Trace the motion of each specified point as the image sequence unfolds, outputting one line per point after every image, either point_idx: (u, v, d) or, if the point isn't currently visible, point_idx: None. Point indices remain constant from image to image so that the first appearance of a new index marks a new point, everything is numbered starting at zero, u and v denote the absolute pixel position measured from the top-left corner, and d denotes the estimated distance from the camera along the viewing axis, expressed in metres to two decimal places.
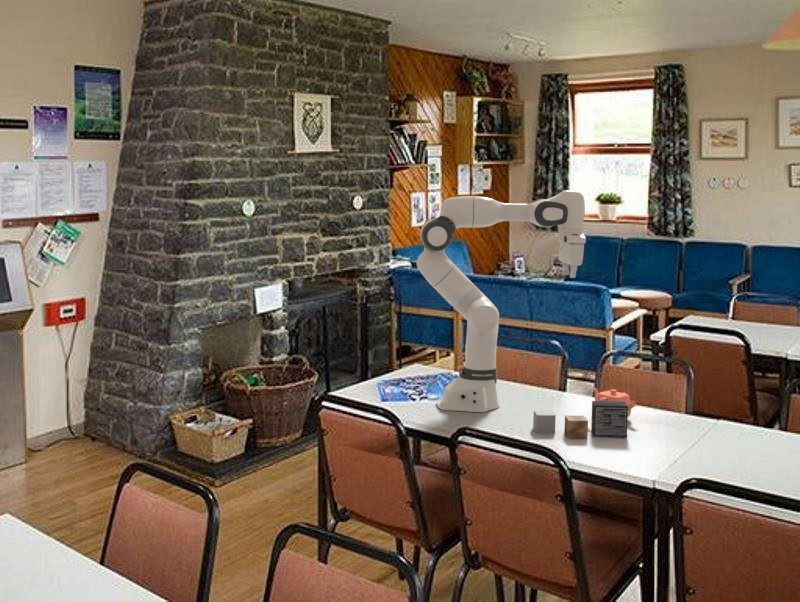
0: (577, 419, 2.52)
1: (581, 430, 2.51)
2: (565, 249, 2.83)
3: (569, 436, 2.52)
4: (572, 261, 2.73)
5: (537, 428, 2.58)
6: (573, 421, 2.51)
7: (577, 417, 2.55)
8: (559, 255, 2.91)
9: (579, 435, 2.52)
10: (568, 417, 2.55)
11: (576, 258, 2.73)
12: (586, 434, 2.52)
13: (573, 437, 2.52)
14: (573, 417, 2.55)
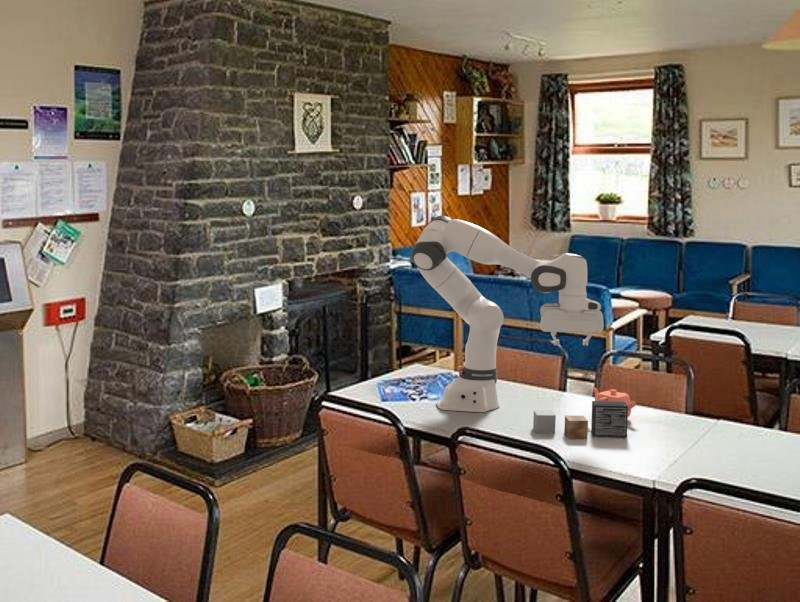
0: (577, 419, 2.52)
1: (581, 430, 2.51)
2: (570, 317, 2.60)
3: (569, 436, 2.52)
4: (603, 327, 2.61)
5: (537, 428, 2.58)
6: (573, 421, 2.51)
7: (577, 417, 2.55)
8: (546, 325, 2.60)
9: (579, 435, 2.52)
10: (568, 417, 2.55)
11: None
12: (586, 434, 2.52)
13: (573, 437, 2.52)
14: (573, 417, 2.55)
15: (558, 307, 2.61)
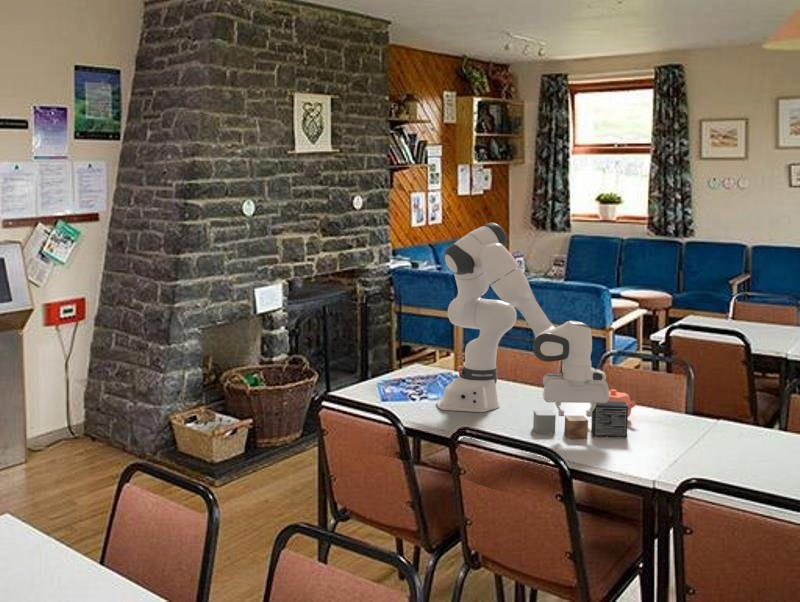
0: (577, 419, 2.52)
1: (581, 430, 2.51)
2: (573, 387, 2.50)
3: (569, 436, 2.52)
4: (608, 398, 2.50)
5: (537, 428, 2.58)
6: (573, 421, 2.51)
7: (577, 417, 2.55)
8: (549, 396, 2.51)
9: (579, 435, 2.52)
10: (568, 417, 2.55)
11: None
12: (586, 434, 2.52)
13: (573, 437, 2.52)
14: (573, 417, 2.55)
15: (561, 377, 2.51)
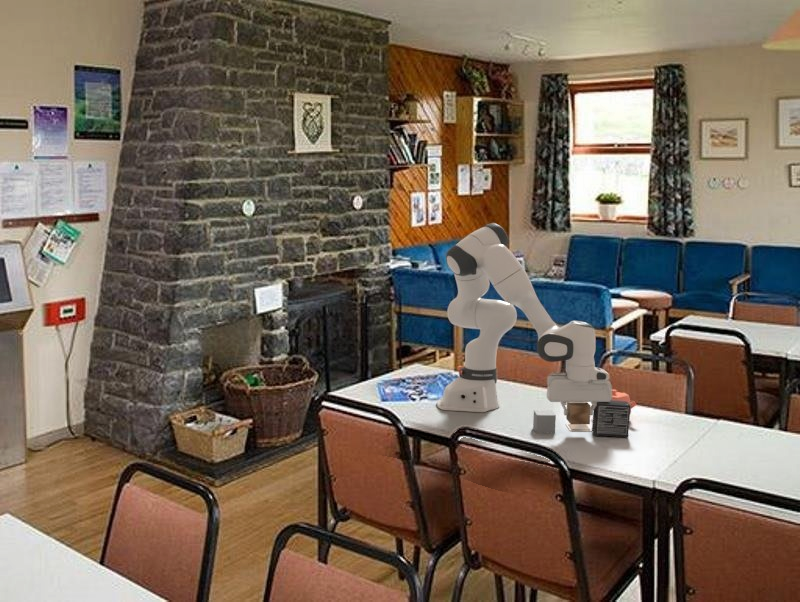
0: (580, 404, 2.53)
1: (583, 415, 2.52)
2: (577, 387, 2.52)
3: (572, 421, 2.52)
4: (611, 397, 2.53)
5: (537, 428, 2.58)
6: (576, 406, 2.51)
7: (579, 402, 2.55)
8: (553, 395, 2.52)
9: (582, 420, 2.52)
10: (570, 402, 2.55)
11: None
12: (588, 419, 2.52)
13: (576, 422, 2.52)
14: (575, 402, 2.55)
15: (565, 376, 2.52)
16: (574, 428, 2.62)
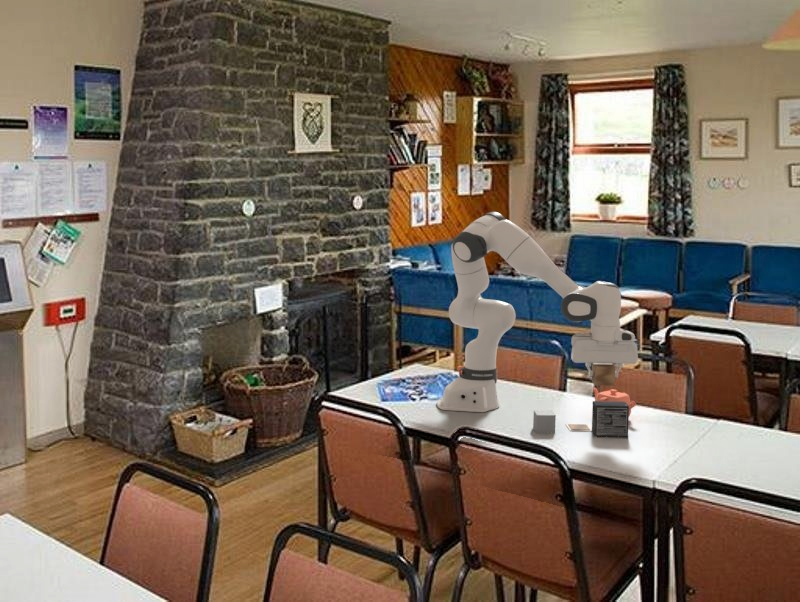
0: (605, 365, 2.50)
1: (608, 376, 2.49)
2: (602, 348, 2.50)
3: (596, 382, 2.50)
4: None
5: (537, 428, 2.58)
6: (600, 367, 2.49)
7: (604, 364, 2.53)
8: (577, 356, 2.50)
9: (606, 381, 2.50)
10: (595, 364, 2.53)
11: None
12: (613, 380, 2.50)
13: (600, 383, 2.50)
14: (600, 364, 2.53)
15: (590, 337, 2.51)
16: (574, 428, 2.62)
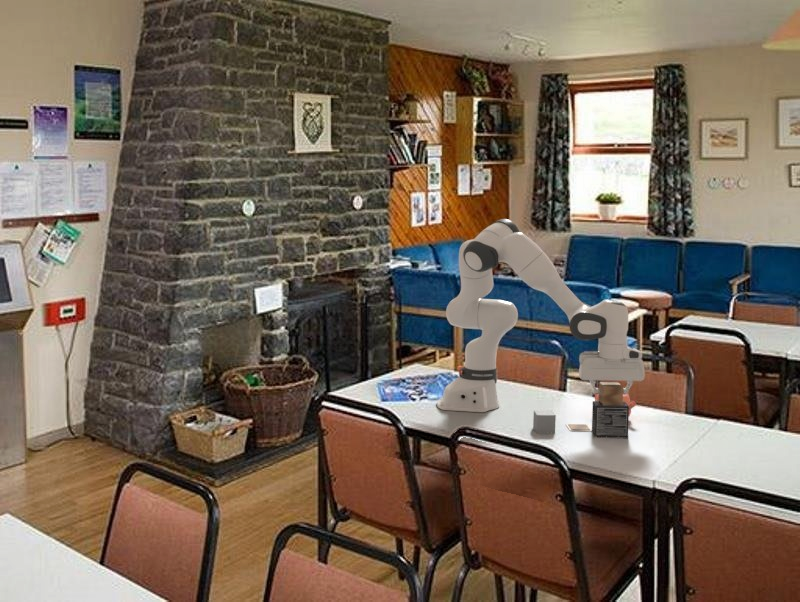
0: (612, 385, 2.53)
1: (616, 396, 2.52)
2: (610, 365, 2.52)
3: (604, 402, 2.52)
4: None
5: (537, 428, 2.58)
6: (608, 387, 2.52)
7: (612, 383, 2.55)
8: (585, 374, 2.52)
9: (614, 401, 2.52)
10: (603, 383, 2.55)
11: None
12: (621, 400, 2.52)
13: (608, 403, 2.52)
14: (608, 383, 2.55)
15: (598, 355, 2.53)
16: (574, 428, 2.62)
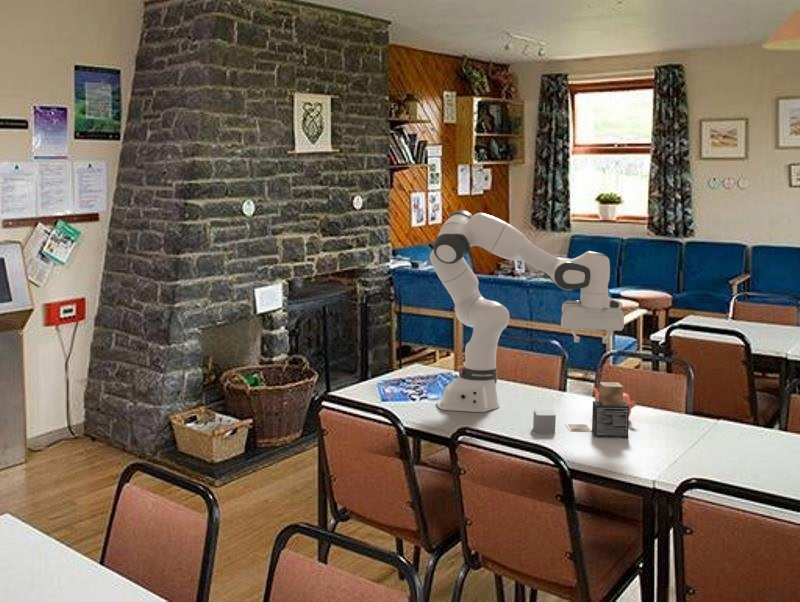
0: (612, 385, 2.53)
1: (616, 396, 2.52)
2: (591, 315, 2.62)
3: (604, 402, 2.52)
4: (623, 326, 2.63)
5: (537, 428, 2.58)
6: (608, 387, 2.52)
7: (612, 383, 2.55)
8: (567, 322, 2.62)
9: (614, 401, 2.52)
10: (603, 383, 2.55)
11: None
12: (621, 400, 2.52)
13: (608, 403, 2.52)
14: (608, 383, 2.55)
15: (579, 304, 2.62)
16: (574, 428, 2.62)
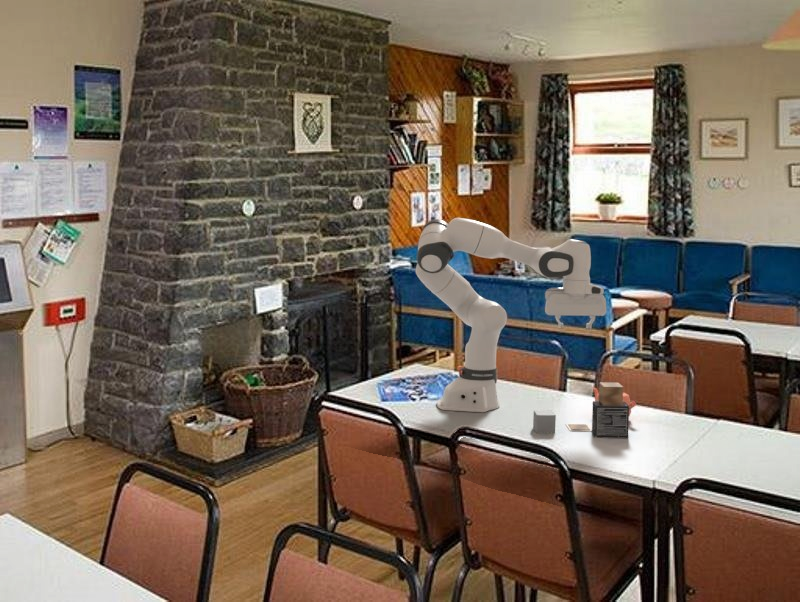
0: (612, 386, 2.53)
1: (616, 396, 2.52)
2: (574, 301, 2.69)
3: (604, 402, 2.52)
4: None
5: (537, 428, 2.58)
6: (608, 387, 2.52)
7: (612, 384, 2.55)
8: (551, 309, 2.69)
9: (614, 401, 2.52)
10: (603, 384, 2.55)
11: None
12: (621, 400, 2.52)
13: (608, 403, 2.52)
14: (608, 384, 2.55)
15: (562, 291, 2.69)
16: (574, 428, 2.62)
